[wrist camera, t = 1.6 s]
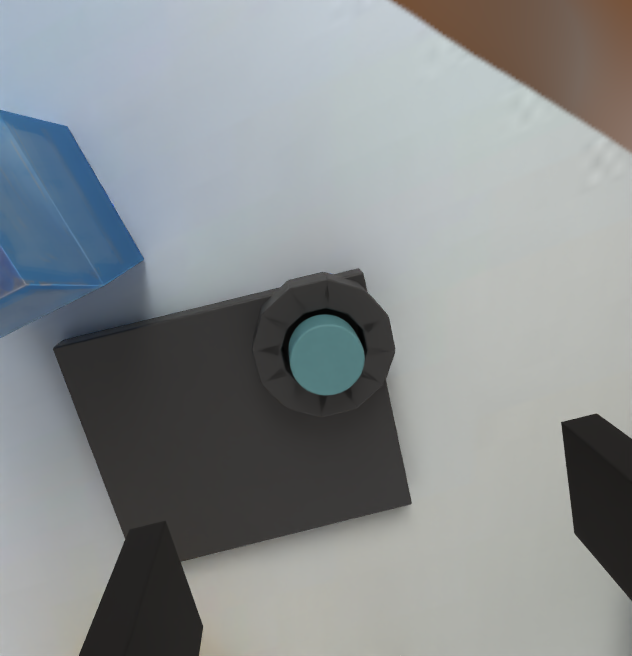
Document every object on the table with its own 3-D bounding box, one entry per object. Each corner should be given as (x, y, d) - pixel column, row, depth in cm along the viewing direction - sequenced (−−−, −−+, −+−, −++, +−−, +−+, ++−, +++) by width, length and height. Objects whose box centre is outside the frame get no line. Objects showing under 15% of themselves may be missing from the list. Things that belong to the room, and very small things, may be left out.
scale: (58, 331, 26) (31, 351, 23) (366, 256, 26) (378, 266, 23) (143, 557, 29) (128, 599, 26) (415, 489, 29) (430, 524, 26)
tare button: (281, 323, 24) (281, 334, 22) (350, 306, 24) (356, 316, 22) (297, 388, 24) (299, 404, 23) (364, 371, 24) (371, 386, 23)
